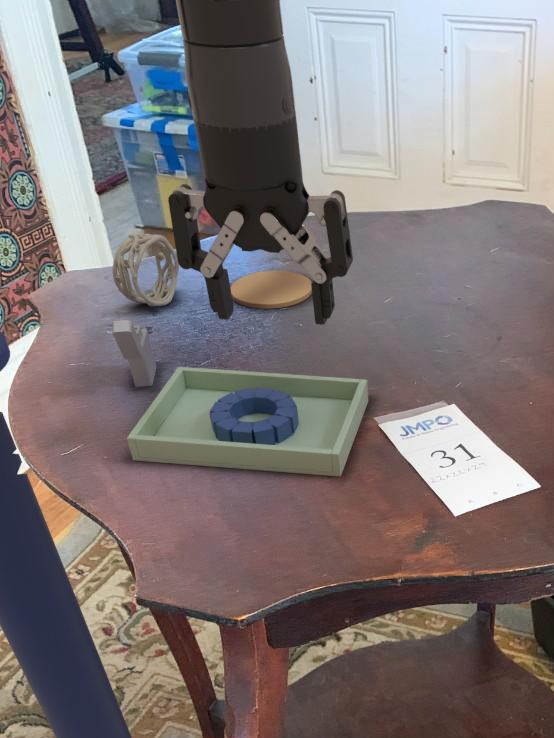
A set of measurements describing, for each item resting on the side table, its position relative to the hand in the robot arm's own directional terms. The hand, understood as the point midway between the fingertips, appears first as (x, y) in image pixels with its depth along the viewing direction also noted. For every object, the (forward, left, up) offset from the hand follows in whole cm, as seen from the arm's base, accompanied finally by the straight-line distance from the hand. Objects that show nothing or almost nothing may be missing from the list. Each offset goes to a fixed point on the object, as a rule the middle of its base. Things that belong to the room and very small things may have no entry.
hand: (274, 318), depth 74 cm
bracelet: (-23, +26, -12) cm, 37 cm away
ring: (-3, 0, -11) cm, 11 cm away
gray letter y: (-17, +7, -12) cm, 22 cm away
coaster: (-10, +31, -11) cm, 34 cm away
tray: (-3, 0, -11) cm, 12 cm away
